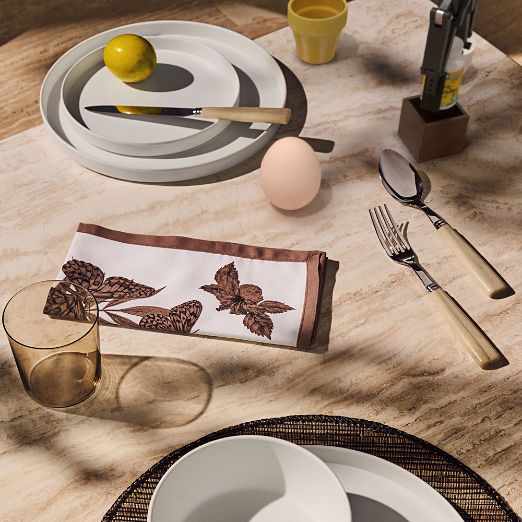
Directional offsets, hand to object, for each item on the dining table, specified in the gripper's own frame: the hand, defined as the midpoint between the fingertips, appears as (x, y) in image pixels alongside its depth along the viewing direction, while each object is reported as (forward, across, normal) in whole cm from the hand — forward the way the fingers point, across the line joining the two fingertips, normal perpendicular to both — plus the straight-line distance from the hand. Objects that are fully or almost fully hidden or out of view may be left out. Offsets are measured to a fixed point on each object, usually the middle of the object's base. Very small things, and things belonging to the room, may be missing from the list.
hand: (438, 97), depth 101 cm
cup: (+9, -17, -5) cm, 20 cm away
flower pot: (+9, -13, -28) cm, 32 cm away
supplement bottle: (+1, 0, 0) cm, 1 cm away
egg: (+9, +23, -12) cm, 27 cm away
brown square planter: (+9, 0, 0) cm, 9 cm away
